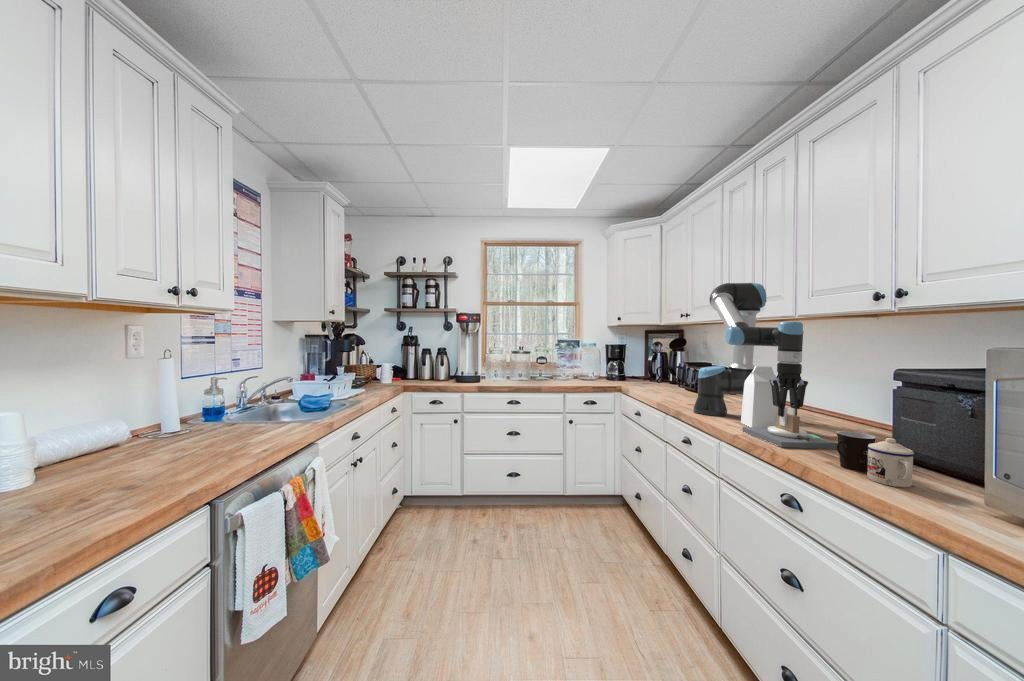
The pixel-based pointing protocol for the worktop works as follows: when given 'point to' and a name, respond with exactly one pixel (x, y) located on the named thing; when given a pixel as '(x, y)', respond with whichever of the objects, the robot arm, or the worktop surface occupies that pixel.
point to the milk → (759, 398)
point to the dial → (788, 428)
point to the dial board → (790, 439)
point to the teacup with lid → (890, 463)
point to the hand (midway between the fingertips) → (787, 425)
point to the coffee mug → (854, 450)
